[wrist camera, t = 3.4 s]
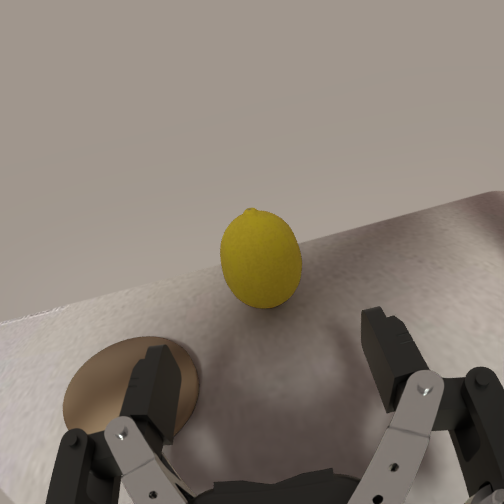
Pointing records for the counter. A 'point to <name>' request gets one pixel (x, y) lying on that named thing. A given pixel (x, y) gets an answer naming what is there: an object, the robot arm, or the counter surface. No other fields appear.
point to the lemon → (260, 259)
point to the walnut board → (121, 384)
